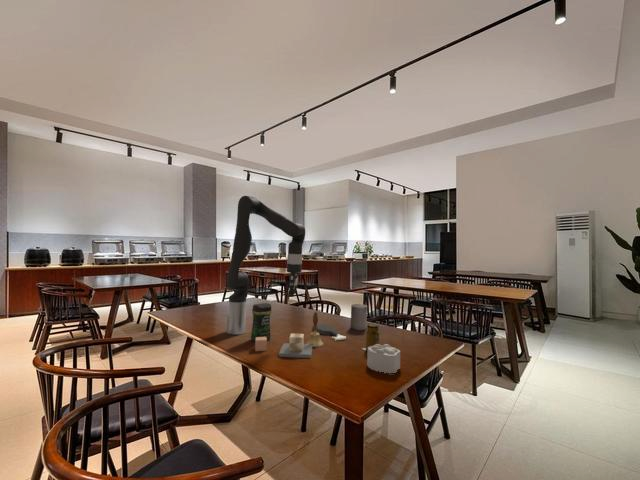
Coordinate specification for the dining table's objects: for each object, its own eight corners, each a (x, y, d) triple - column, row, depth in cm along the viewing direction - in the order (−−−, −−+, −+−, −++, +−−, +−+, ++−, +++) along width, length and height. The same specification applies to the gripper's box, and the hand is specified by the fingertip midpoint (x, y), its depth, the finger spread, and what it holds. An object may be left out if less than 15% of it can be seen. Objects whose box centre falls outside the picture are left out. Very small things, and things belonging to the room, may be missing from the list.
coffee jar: (257, 343, 152) (258, 305, 153) (248, 339, 158) (249, 303, 158) (273, 339, 159) (274, 303, 159) (264, 336, 165) (265, 301, 165)
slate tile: (278, 356, 135) (278, 353, 135) (283, 346, 149) (283, 343, 149) (310, 358, 135) (310, 354, 135) (312, 347, 149) (312, 344, 149)
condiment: (374, 347, 152) (374, 322, 153) (384, 352, 145) (385, 327, 145) (361, 348, 149) (362, 324, 149) (371, 354, 142) (372, 328, 142)
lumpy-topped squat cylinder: (393, 375, 119) (394, 353, 119) (362, 367, 126) (363, 346, 126) (401, 367, 128) (402, 346, 128) (372, 360, 135) (373, 340, 135)
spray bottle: (326, 328, 186) (350, 340, 165) (310, 330, 180) (333, 343, 159) (326, 323, 186) (350, 334, 165) (310, 325, 180) (333, 337, 159)
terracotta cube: (255, 351, 142) (255, 340, 142) (255, 347, 146) (255, 337, 146) (266, 350, 143) (266, 340, 143) (265, 347, 148) (266, 336, 148)
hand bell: (303, 344, 154) (304, 312, 154) (314, 340, 160) (315, 309, 160) (315, 348, 148) (316, 315, 148) (326, 344, 154) (327, 312, 154)
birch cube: (289, 350, 139) (289, 337, 139) (290, 346, 145) (291, 333, 145) (302, 351, 139) (302, 337, 139) (303, 346, 145) (303, 333, 145)
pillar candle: (348, 326, 190) (348, 302, 190) (362, 325, 193) (363, 301, 193) (354, 330, 181) (355, 305, 181) (369, 329, 184) (370, 304, 184)
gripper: (289, 261, 163) (287, 292, 163) (284, 263, 149) (283, 297, 149) (303, 262, 162) (301, 293, 162) (300, 264, 148) (298, 298, 148)
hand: (292, 294), depth 156 cm, fingers open, 8 cm apart
